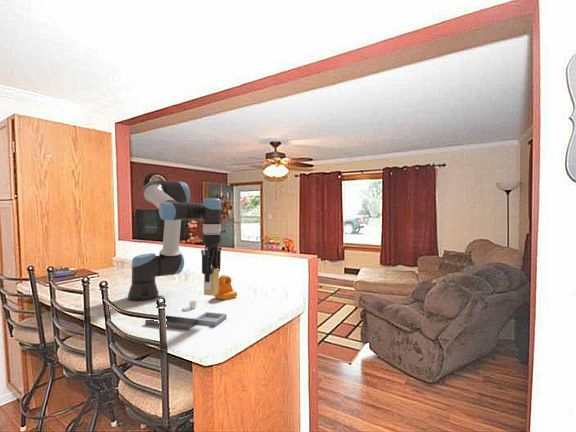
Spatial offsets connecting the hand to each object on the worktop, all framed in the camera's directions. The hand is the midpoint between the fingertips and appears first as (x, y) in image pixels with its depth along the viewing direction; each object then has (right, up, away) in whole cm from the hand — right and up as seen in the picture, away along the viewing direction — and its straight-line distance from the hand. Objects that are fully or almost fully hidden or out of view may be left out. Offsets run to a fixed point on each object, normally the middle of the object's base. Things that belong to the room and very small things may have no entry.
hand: (211, 287), depth 131 cm
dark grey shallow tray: (-15, -14, -5) cm, 22 cm away
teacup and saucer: (-16, -15, +17) cm, 28 cm away
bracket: (-1, -14, +37) cm, 39 cm away
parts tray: (0, -15, 0) cm, 15 cm away
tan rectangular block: (0, -3, 0) cm, 3 cm away
